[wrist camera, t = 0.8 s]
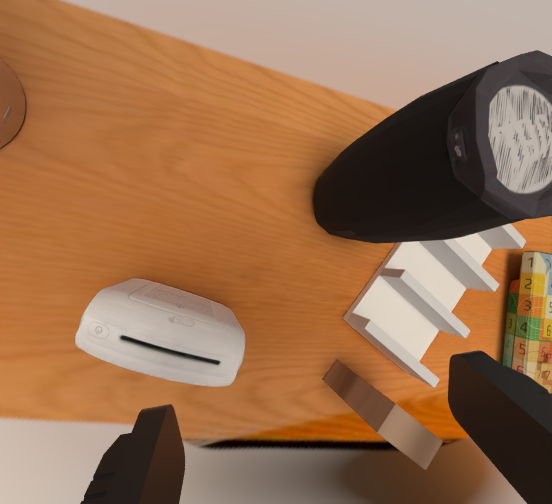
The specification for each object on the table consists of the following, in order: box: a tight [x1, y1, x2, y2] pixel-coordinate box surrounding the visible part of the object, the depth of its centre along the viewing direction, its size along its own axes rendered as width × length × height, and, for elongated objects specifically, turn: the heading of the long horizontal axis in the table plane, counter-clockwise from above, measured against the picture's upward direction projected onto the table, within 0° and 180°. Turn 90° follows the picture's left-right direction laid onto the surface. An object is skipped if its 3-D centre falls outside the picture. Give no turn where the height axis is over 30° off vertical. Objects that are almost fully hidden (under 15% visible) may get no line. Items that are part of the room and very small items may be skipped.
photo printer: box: [75, 278, 245, 387], centre depth 23 cm, size 10×4×12 cm, turn 69°
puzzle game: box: [502, 251, 552, 394], centre depth 38 cm, size 12×5×20 cm
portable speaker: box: [314, 50, 552, 243], centre depth 24 cm, size 9×9×20 cm
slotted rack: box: [342, 224, 526, 388], centre depth 33 cm, size 10×19×4 cm, turn 140°
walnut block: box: [323, 360, 442, 470], centre depth 28 cm, size 6×2×10 cm, turn 50°
